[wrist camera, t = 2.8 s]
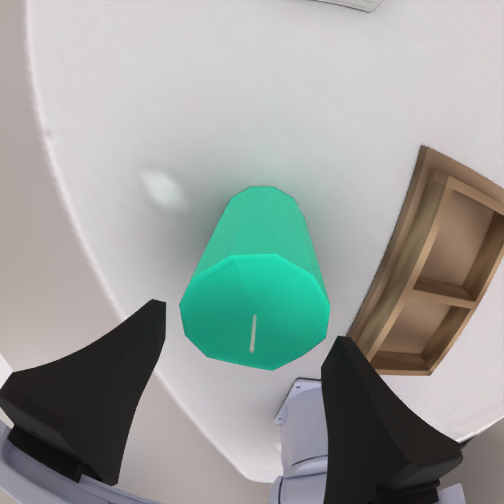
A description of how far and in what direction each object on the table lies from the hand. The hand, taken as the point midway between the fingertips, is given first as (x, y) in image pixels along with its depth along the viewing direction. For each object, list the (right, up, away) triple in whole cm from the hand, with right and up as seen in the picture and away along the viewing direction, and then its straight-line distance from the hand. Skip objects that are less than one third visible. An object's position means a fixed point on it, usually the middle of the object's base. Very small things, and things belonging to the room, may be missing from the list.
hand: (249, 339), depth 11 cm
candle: (+1, +5, +9) cm, 11 cm away
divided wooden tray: (+15, +1, +10) cm, 18 cm away
